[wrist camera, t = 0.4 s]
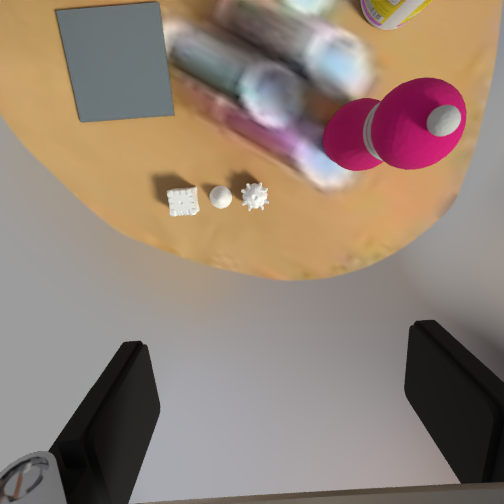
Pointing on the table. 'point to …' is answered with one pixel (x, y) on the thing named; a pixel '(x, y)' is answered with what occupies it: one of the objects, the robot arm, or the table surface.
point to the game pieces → (214, 198)
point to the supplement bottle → (391, 12)
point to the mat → (117, 61)
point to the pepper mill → (398, 127)
